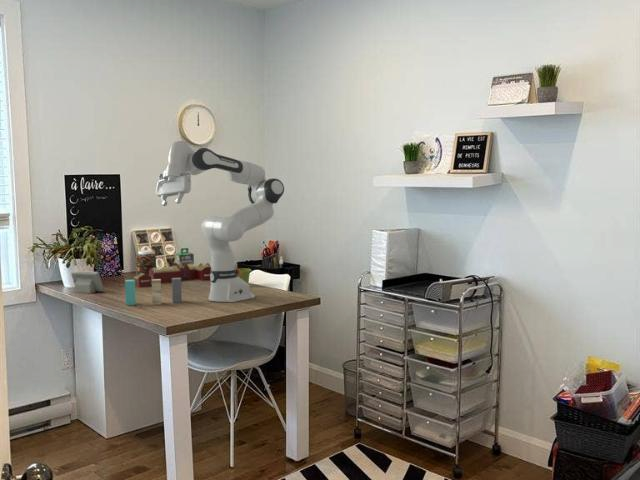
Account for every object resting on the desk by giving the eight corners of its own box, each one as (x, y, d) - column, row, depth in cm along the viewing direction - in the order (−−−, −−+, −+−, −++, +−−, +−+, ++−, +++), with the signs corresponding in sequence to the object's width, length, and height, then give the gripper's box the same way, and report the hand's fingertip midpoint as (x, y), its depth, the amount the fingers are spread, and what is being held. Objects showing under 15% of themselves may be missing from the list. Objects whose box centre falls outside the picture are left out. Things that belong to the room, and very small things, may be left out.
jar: (160, 277, 357) (159, 251, 355) (140, 279, 350) (139, 252, 349) (152, 274, 366) (151, 249, 365) (132, 276, 360) (132, 250, 358)
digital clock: (105, 291, 314) (104, 270, 313) (91, 294, 306) (90, 273, 305) (82, 288, 321) (81, 268, 320) (68, 291, 313) (67, 271, 312)
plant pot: (253, 286, 326) (253, 270, 325) (236, 288, 322) (235, 271, 321) (248, 283, 335) (248, 268, 334) (231, 285, 331) (231, 269, 330)
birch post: (152, 302, 285) (151, 279, 284) (161, 302, 286) (160, 279, 285) (152, 304, 282) (151, 280, 280) (161, 304, 283) (160, 280, 281)
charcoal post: (172, 301, 289) (171, 278, 288) (181, 300, 290) (180, 277, 289) (172, 302, 285) (172, 279, 284) (181, 302, 286) (181, 279, 285)
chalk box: (189, 270, 381) (189, 246, 380) (194, 272, 373) (194, 248, 372) (175, 271, 377) (174, 247, 375) (179, 273, 369) (178, 249, 367)
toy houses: (203, 275, 364) (203, 258, 363) (218, 280, 347) (217, 262, 346) (127, 283, 339) (126, 264, 338) (138, 288, 322) (138, 269, 321)
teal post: (126, 303, 284) (125, 280, 283) (135, 303, 285) (134, 279, 284) (126, 305, 280) (125, 281, 279) (135, 304, 281) (134, 281, 280)
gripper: (196, 174, 277) (191, 203, 274) (166, 180, 289) (162, 208, 286) (185, 169, 272) (180, 199, 269) (156, 175, 284) (151, 204, 281)
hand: (171, 204), depth 277 cm, fingers open, 8 cm apart
